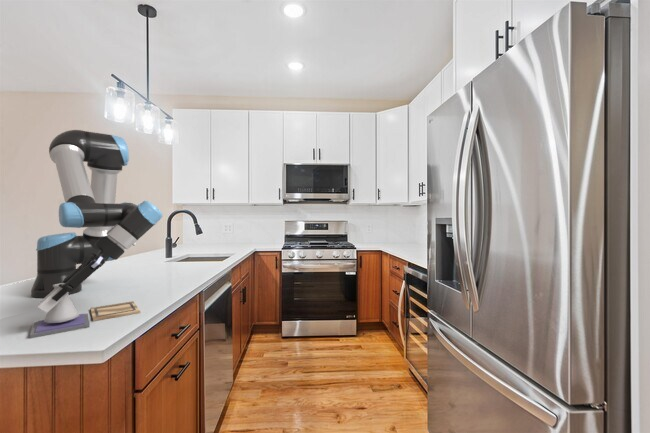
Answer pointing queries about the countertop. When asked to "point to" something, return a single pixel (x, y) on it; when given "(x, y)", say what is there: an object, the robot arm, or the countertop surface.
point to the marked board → (114, 311)
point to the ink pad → (59, 326)
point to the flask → (61, 310)
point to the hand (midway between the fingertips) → (43, 307)
